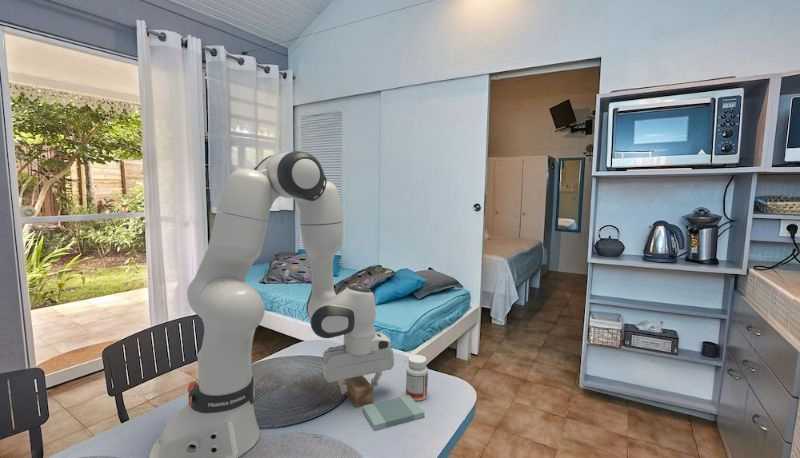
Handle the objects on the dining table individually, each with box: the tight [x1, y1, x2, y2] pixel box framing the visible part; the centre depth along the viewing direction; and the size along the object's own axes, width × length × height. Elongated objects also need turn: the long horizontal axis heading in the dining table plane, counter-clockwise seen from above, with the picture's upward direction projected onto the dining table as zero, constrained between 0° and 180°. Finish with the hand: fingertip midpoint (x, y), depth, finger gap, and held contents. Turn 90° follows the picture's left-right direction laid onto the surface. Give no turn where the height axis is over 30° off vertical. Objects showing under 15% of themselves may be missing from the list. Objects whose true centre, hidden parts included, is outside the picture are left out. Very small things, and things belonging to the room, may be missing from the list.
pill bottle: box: [405, 354, 429, 402], centre depth 107 cm, size 6×6×11 cm
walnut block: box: [345, 375, 374, 409], centre depth 105 cm, size 5×8×5 cm, turn 29°
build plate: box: [362, 394, 425, 431], centre depth 99 cm, size 14×9×1 cm, turn 115°
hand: (359, 388), depth 106 cm, fingers open, 8 cm apart
